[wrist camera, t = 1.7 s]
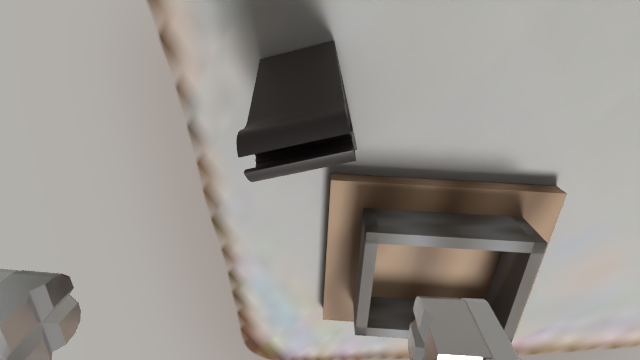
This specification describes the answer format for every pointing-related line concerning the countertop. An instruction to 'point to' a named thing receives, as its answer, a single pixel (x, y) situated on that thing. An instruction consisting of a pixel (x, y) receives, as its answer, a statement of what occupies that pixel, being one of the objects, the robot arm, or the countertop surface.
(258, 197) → the countertop surface
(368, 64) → the countertop surface
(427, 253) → the socket board
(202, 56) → the countertop surface
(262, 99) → the phone stand
